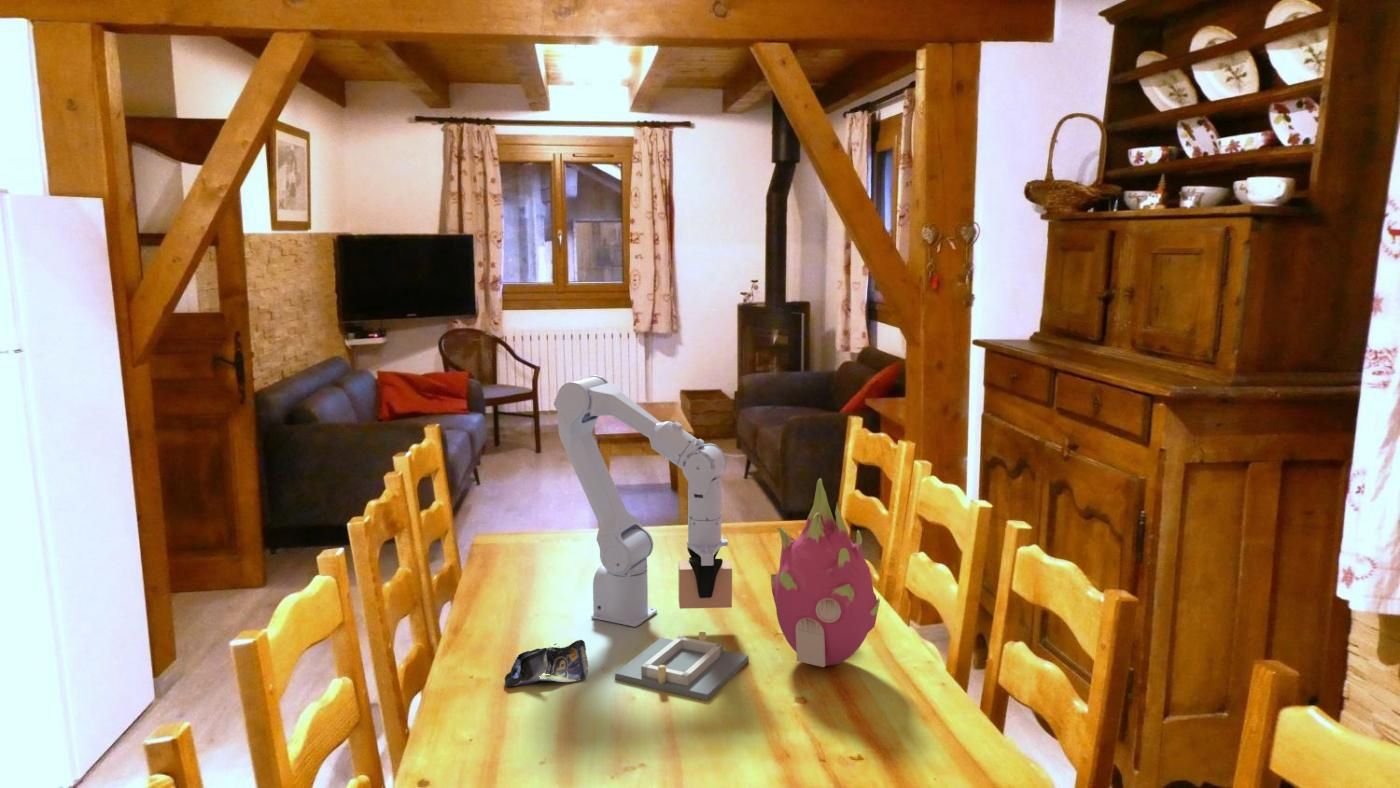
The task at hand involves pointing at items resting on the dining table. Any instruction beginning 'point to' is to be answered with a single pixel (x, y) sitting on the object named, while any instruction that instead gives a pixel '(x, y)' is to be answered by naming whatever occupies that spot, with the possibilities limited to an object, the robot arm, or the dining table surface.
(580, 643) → the snack package
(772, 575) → the pink dragon fruit
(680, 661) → the socket plate
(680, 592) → the block
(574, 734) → the dining table surface
